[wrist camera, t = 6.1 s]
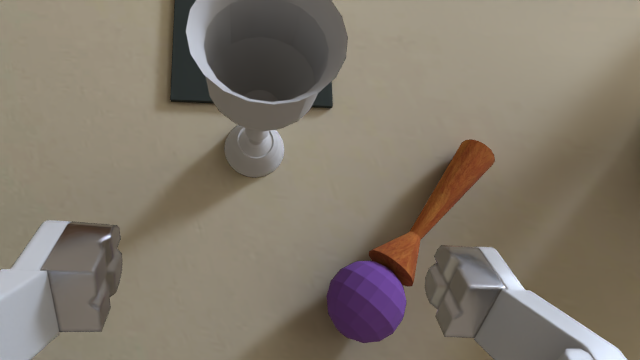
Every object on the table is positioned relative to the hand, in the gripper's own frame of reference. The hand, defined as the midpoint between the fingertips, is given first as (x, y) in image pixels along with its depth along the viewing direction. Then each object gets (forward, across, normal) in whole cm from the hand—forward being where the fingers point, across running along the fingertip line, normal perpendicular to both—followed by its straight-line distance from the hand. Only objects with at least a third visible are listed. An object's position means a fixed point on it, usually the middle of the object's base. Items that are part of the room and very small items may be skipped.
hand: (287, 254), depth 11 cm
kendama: (+20, -14, +15) cm, 28 cm away
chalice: (+25, 0, +10) cm, 27 cm away
